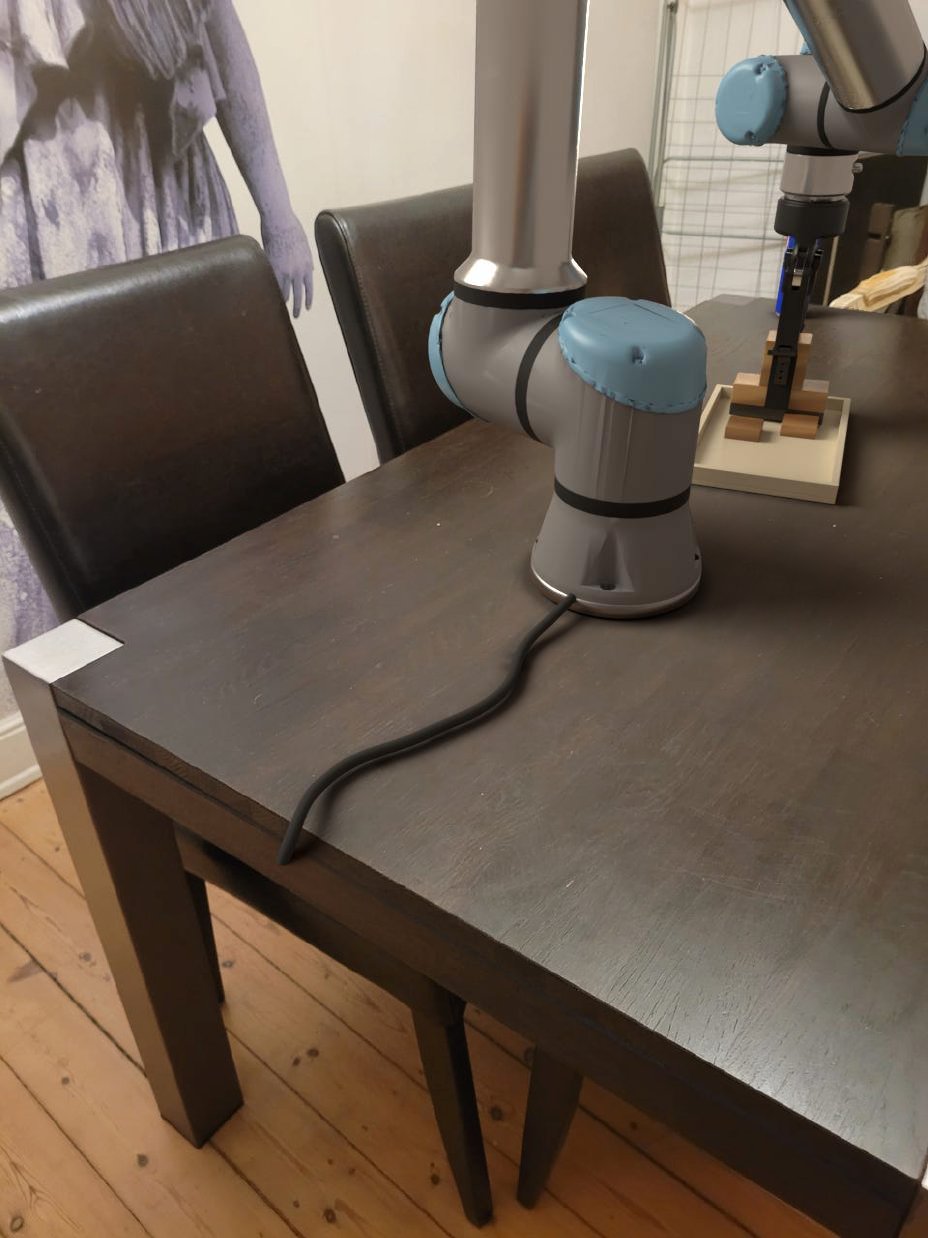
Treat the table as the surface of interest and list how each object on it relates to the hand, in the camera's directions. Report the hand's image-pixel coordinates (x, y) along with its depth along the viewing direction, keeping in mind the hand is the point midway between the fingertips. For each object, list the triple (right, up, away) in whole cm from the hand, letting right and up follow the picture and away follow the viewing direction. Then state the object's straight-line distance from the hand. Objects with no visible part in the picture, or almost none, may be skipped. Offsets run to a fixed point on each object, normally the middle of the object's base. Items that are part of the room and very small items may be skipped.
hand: (778, 400), depth 114 cm
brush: (0, -1, +1) cm, 2 cm away
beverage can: (+16, +24, +42) cm, 51 cm away
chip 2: (+1, -5, -3) cm, 6 cm away
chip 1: (-5, -5, -3) cm, 8 cm away
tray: (-3, -6, -5) cm, 9 cm away
